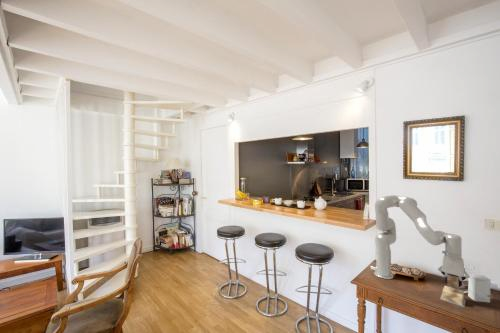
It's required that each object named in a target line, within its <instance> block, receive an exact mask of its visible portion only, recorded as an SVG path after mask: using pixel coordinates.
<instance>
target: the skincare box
mask: <svg viewBox="0 0 500 333" xmlns="http://www.w3.org/2000/svg"><path fill="white" fill-rule="evenodd" d="M468 275H469V276H470V278H467V279H468V284H467V285H468V287H467V288H468V290H467V293H468V294H467V297H469V298H470V299H471V300H473V301H474V302H481V303H483V302H484V303H491V279H490V278H489V277H486V276H485V275H481V274H479V275H478V274H471V273H468Z"/></svg>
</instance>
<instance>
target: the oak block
mask: <svg viewBox="0 0 500 333" xmlns="http://www.w3.org/2000/svg"><path fill="white" fill-rule="evenodd" d="M441 295H442V299H444V300H447V301H450V302H453V303H456V304H459V305H462V304H463V299H465V298H464V296H465V295H464V290H461V289H456V288H452V287H449V286H447V285H444V286H443V288H442V293H441ZM444 300H443V301H444ZM447 301H446V302H447ZM450 302H449V303H450ZM453 303H452V304H453ZM456 304H455V305H456ZM459 305H458V306H459Z"/></svg>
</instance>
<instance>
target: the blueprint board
mask: <svg viewBox="0 0 500 333" xmlns="http://www.w3.org/2000/svg"><path fill="white" fill-rule="evenodd" d="M439 299H440V300H442V301H444V302H447V303H450V304H454V305H456V306H460V307H462V308H465V306H466V301H467V299H465V298H464V299H463V304H462V305H459V304H456V303H453V302H450V301H447V300H444V299H442V294H441V295H440V298H439Z"/></svg>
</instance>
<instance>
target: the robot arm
mask: <svg viewBox="0 0 500 333" xmlns="http://www.w3.org/2000/svg"><path fill="white" fill-rule="evenodd" d="M394 207H395V208H400V209H401V211H403V213H405V215H406V216H407V217H408V218H409V219H410V221H411V222H413V224H414V226H415V228H416V230H417V231H418V233H419V234H420V235H421V237H423V239H424V240H426V242H428V244H430V245H433V246H441V245H442V244H444V250H442V252H441V253H442V254H443V257H442V263H441V264H442V265H441V266H439V267H438V268H437V271H439V272H440V273H441V274H442V275H443V276H444V282H446V285H447V274H452V275H456V276H458V277H459V287H460V286H462V281H463V280H467V279H468V278H470V276H469V275H468V274H469V273H468V272H467V270H466V271H465V268H464V265H465V261H464V258H463V256H462V254H463V253H462V251H463V250H462V246H463V245H462V240H463V239H462V237H461V235H458V234H454V233H448V232H446V231H442V230H433V229H432V228H431V227H430V224H428V221H427V216H426V214H425V213H424V212H423V211H422V210H421V209H420V208H419V207H418V202H417V200H416V199H414V198H413V197H408V196H407V197H406V196H400V195H395V194H394V195H393V194H391V195H385V196H382V197H380V198H378V199H377V200H376V201H375V203H374V212H375V223H376V224H375V226H376V229H377V230H378V231H379V232H380V233H378V234H377V235H376V236H375V239H374V241H375V242H374V243H375V250H376V256H375V257H376V259H375V260H376V264H375V265H376V266H373V265H370V269H371V270H373V275H375V276H376V277H378V278H380V279H385V280H391V279H394V274H393V273H392V267H391V266H392V251H391V245H392V244H395V243H396V241H397V228H396V222H395V220H394V219H393V218H391V217H389V211H388V209H389V208H394ZM464 274H465V275H464Z"/></svg>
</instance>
